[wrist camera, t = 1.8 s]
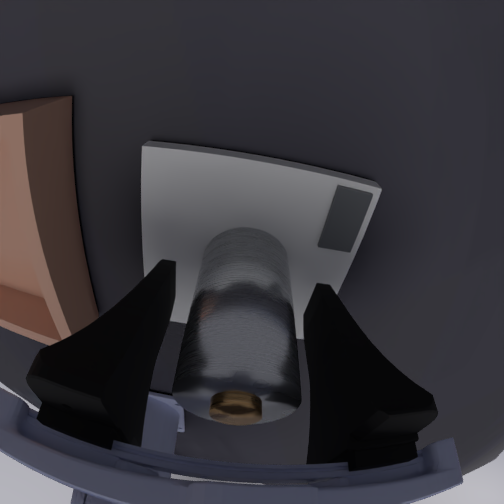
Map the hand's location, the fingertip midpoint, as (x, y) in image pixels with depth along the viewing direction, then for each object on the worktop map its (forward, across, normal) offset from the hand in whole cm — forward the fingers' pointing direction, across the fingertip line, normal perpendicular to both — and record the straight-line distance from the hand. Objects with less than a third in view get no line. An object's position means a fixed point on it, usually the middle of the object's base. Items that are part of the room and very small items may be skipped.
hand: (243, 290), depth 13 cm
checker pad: (+3, 0, 0) cm, 3 cm away
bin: (+3, +16, 0) cm, 16 cm away
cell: (+2, 0, 0) cm, 2 cm away
